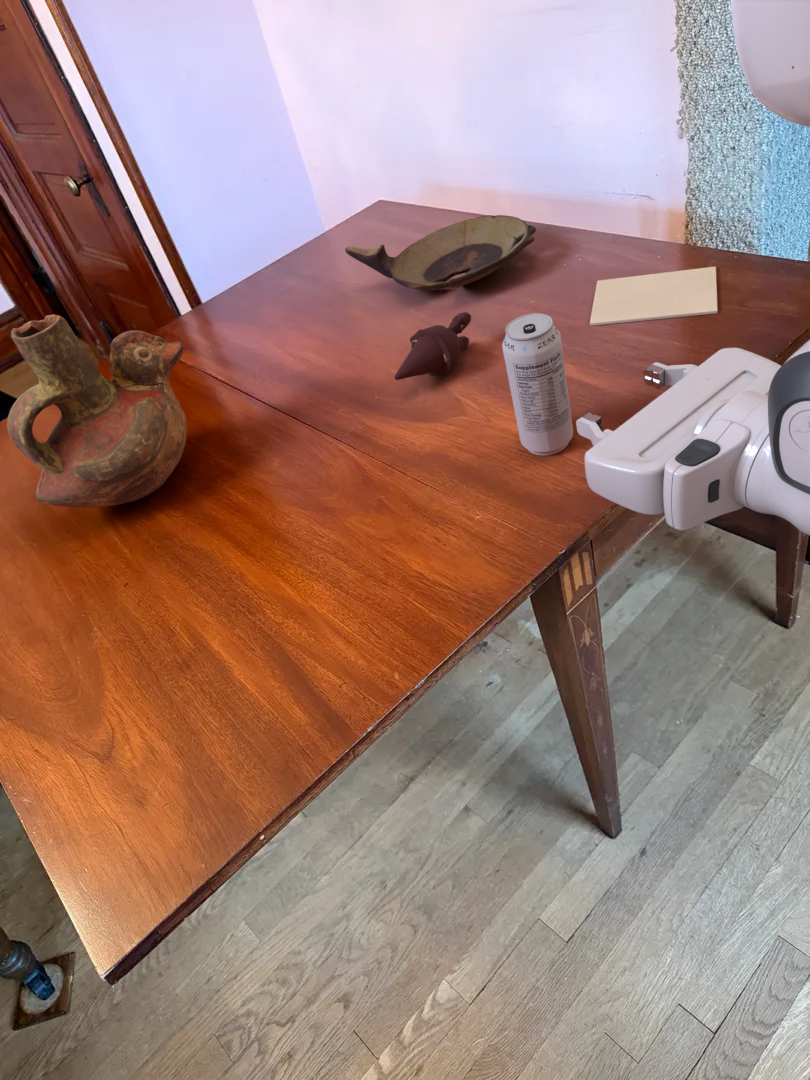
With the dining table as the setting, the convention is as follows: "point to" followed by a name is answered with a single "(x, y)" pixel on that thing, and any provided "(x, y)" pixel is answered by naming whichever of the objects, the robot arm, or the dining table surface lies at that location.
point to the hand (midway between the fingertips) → (615, 396)
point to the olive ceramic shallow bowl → (452, 252)
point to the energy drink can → (538, 383)
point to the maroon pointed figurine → (435, 349)
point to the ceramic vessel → (99, 415)
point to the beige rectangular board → (655, 296)
